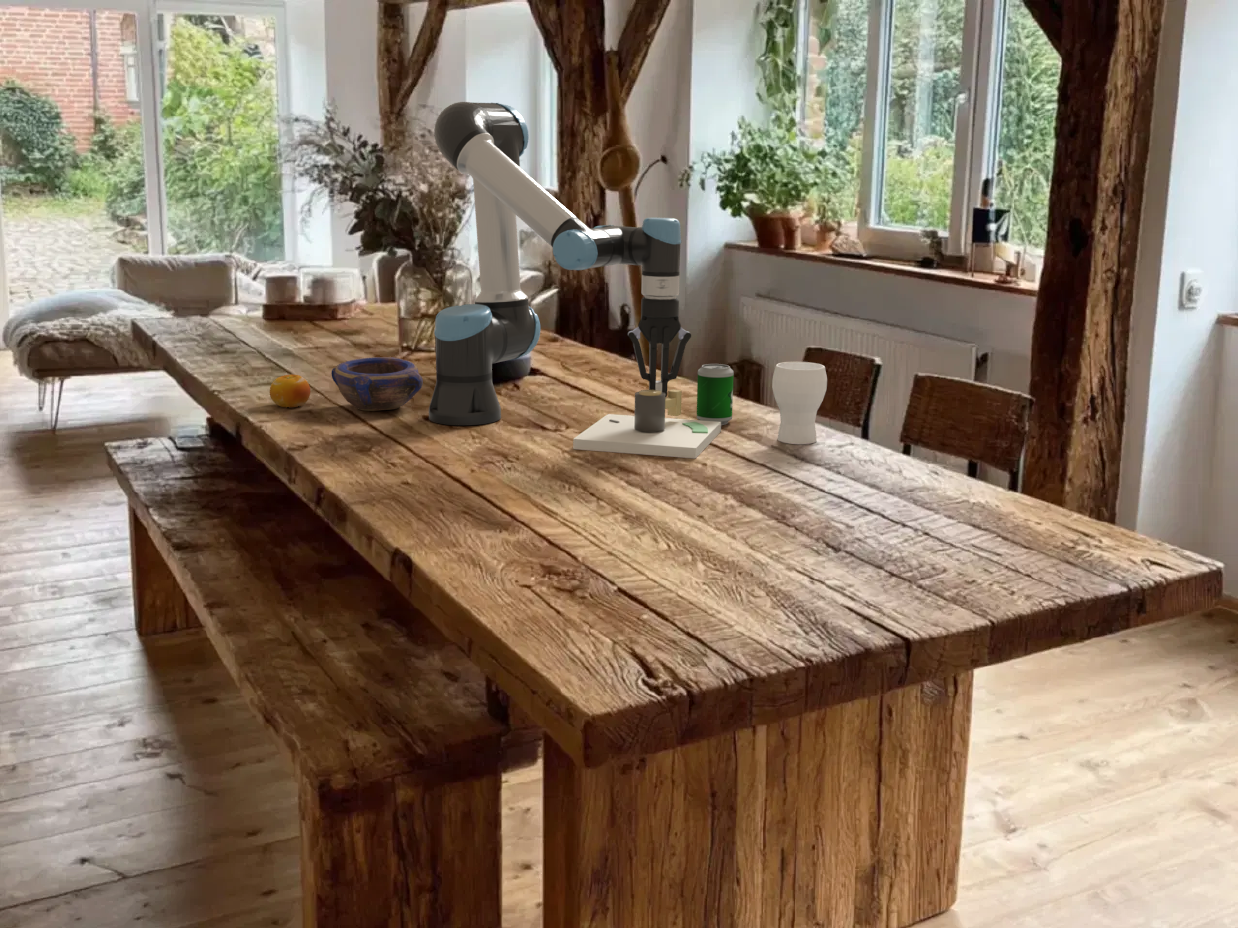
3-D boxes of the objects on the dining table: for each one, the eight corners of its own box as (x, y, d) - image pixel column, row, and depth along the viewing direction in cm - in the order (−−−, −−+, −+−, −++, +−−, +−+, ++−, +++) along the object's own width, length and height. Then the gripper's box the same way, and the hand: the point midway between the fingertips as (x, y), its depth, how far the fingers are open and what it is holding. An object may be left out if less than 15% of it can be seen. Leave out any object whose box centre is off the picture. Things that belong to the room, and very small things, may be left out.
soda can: (729, 427, 266) (731, 370, 263) (693, 425, 267) (695, 368, 264) (734, 419, 273) (735, 364, 270) (698, 417, 274) (700, 362, 271)
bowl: (349, 419, 269) (347, 372, 266) (326, 404, 284) (324, 359, 282) (431, 412, 277) (429, 366, 274) (404, 397, 292) (403, 354, 290)
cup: (828, 436, 258) (832, 363, 254) (818, 448, 248) (822, 372, 245) (776, 432, 261) (779, 359, 258) (764, 443, 252) (767, 368, 248)
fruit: (255, 391, 279) (276, 361, 278) (279, 399, 287) (298, 369, 286) (280, 413, 276) (301, 382, 275) (303, 420, 284) (323, 390, 283)
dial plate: (573, 449, 246) (573, 437, 245) (607, 423, 268) (607, 412, 267) (695, 458, 239) (696, 446, 239) (720, 431, 262) (721, 420, 261)
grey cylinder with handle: (655, 433, 249) (655, 395, 247) (628, 429, 252) (629, 392, 250) (689, 420, 261) (690, 384, 259) (663, 417, 264) (664, 381, 262)
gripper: (629, 298, 251) (627, 417, 256) (694, 299, 252) (691, 417, 257) (626, 294, 258) (624, 409, 263) (689, 295, 259) (686, 409, 264)
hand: (657, 413), depth 260 cm, fingers closed
